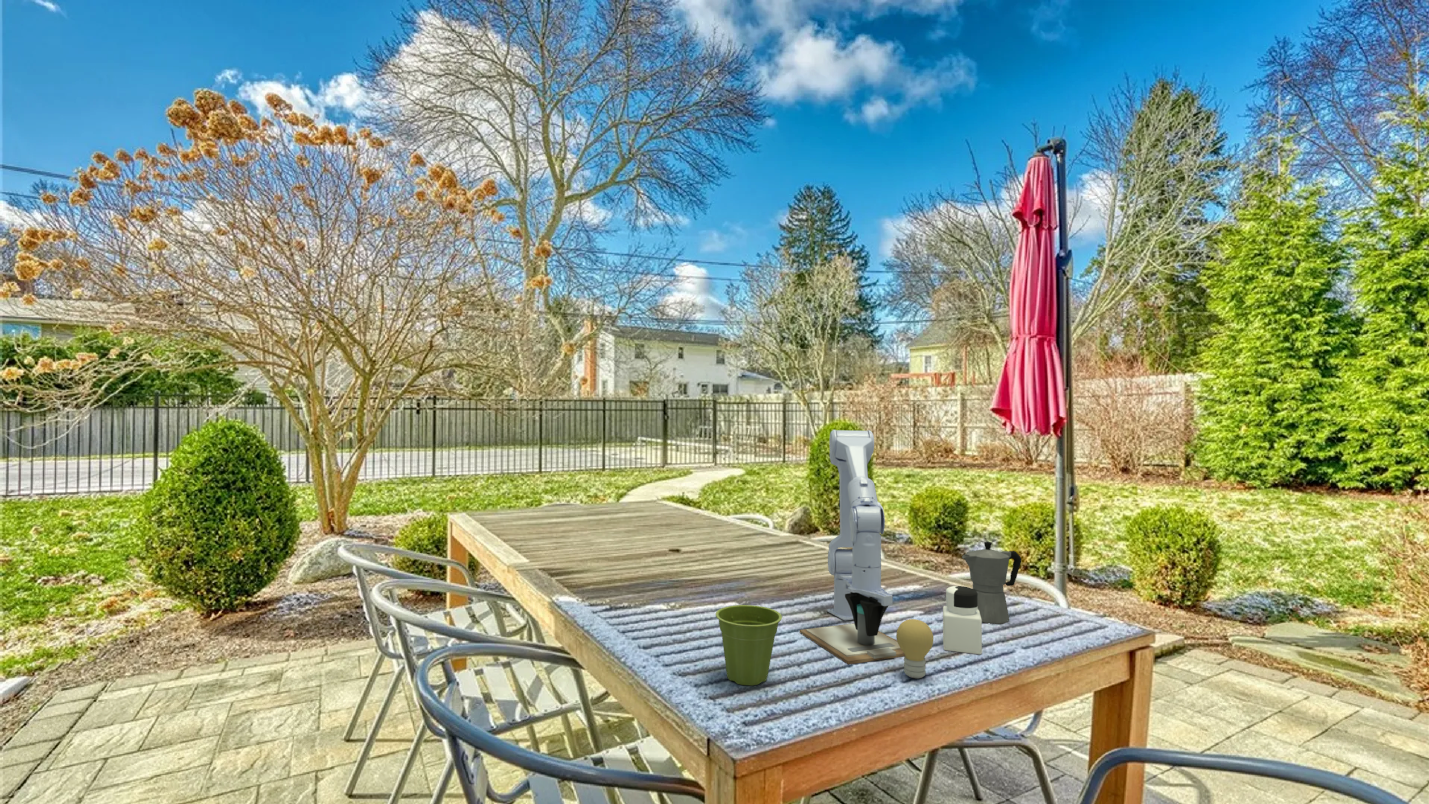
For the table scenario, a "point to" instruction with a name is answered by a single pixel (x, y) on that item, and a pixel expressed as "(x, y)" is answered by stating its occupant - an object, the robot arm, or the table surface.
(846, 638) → the clipboard
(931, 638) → the light bulb
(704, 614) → the table surface
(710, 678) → the table surface
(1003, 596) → the coffeepot
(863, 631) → the teal topped grey cylinder
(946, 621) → the medicine bottle
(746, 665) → the plant pot
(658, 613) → the table surface
